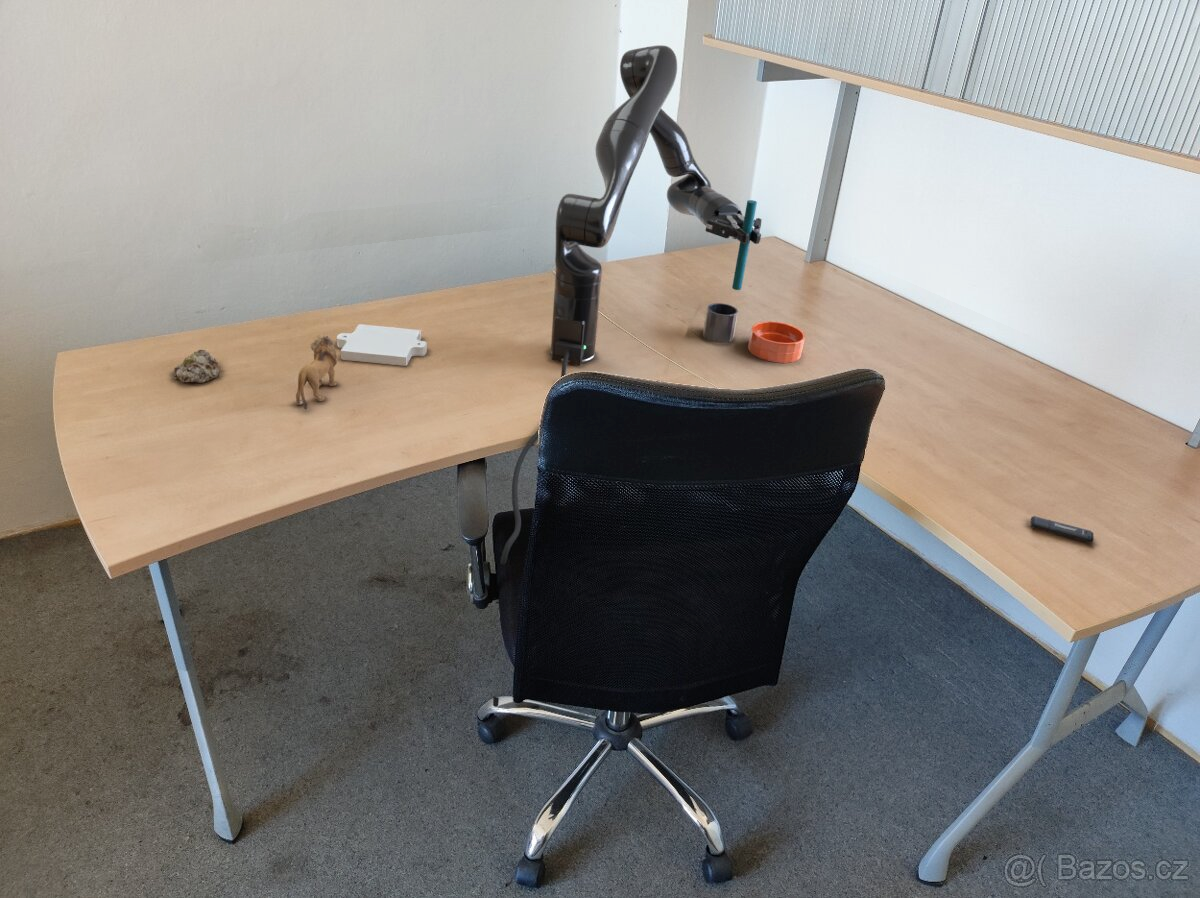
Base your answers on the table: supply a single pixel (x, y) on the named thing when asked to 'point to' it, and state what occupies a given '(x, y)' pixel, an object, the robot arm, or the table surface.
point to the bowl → (776, 341)
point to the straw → (744, 245)
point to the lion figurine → (317, 368)
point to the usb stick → (1062, 529)
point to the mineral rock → (197, 368)
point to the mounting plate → (381, 345)
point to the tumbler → (720, 322)
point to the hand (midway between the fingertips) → (752, 239)
